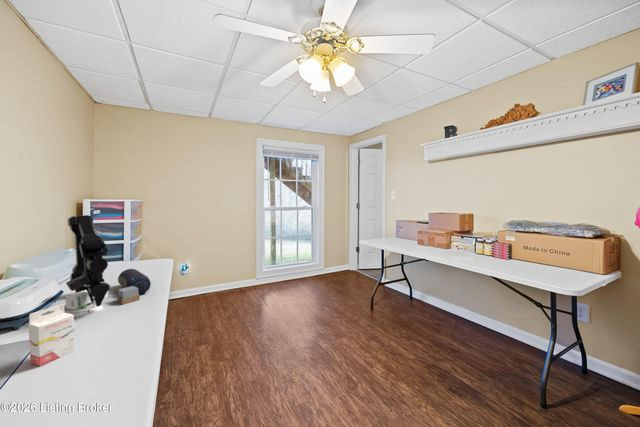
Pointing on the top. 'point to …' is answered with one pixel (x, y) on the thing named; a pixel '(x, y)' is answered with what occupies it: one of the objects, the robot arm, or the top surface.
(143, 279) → the portable speaker
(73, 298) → the syrup box
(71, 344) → the ink cartridge box
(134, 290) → the slate top block
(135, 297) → the walnut base block
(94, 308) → the chess piece
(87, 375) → the top surface
